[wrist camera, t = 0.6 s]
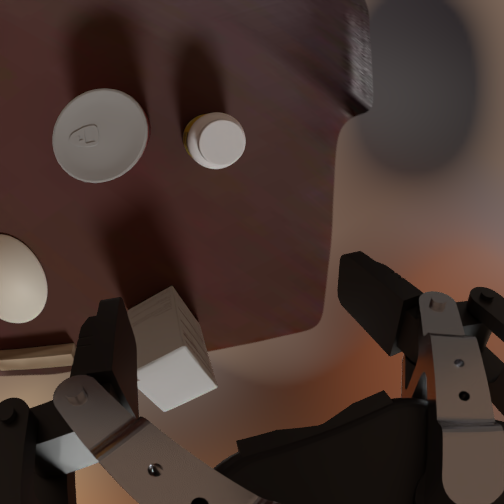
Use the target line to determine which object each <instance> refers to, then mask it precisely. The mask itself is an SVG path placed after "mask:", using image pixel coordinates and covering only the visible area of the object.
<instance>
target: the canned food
mask: <svg viewBox="0 0 504 504" xmlns="http://www.w3.org/2000/svg"><path fill="white" fill-rule="evenodd" d="M150 134H151V126H150V121H149V118H148V116H147V114H146V113H145V111H144V110H143V108H142V107H141V106H140V104H139V103H138V102H137V101H136V100H135V99H134V98H132V97H131V96H129V95H128V94H126V93H124V92H122V91H119V90H116V89H107V88H103V89H94V90H91V91H87V92H85V93H83V94H81V95H79V96H77V97H76V98H74V99H73V100H72V101H71V102H69V103H68V105H67V106H66V107H65V108H64V109H63V110H62V112H61V113H60V115H59V117H58V119H57V121H56V124H55V126H54V131H53V149H54V154H55V156H56V159H57V161H58V163H59V164H60V165H61V167H62V168H63V169H64V170H65V171H66V172H67V173H68V174H69V175H71V176H72V177H74V178H76V179H78V180H81V181H84V182H91V183H99V182H106V181H110V180H113V179H115V178H117V177H119V176H122V175H123V174H125V173H126V172H127V171H129V170H130V169H131V168H132V167H133V166H134V165H135V164H136V163H137V162H138V160H139V159H140V157H141V156H142V154H143V153H144V151H145V149H146V146H147V144H148V142H149V139H150Z"/></svg>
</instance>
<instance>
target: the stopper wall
mask: <svg viewBox="0 0 504 504" xmlns="http://www.w3.org/2000/svg"><path fill="white" fill-rule="evenodd" d="M75 351H76V346H75V344H74V343H69V344H60V345H51V346H42V347H32V348H22V349H11V350H0V370H1V371H3V370H21V369H36V368H48V367H59V366H70V365H72V364H73V360H74V355H75Z"/></svg>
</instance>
